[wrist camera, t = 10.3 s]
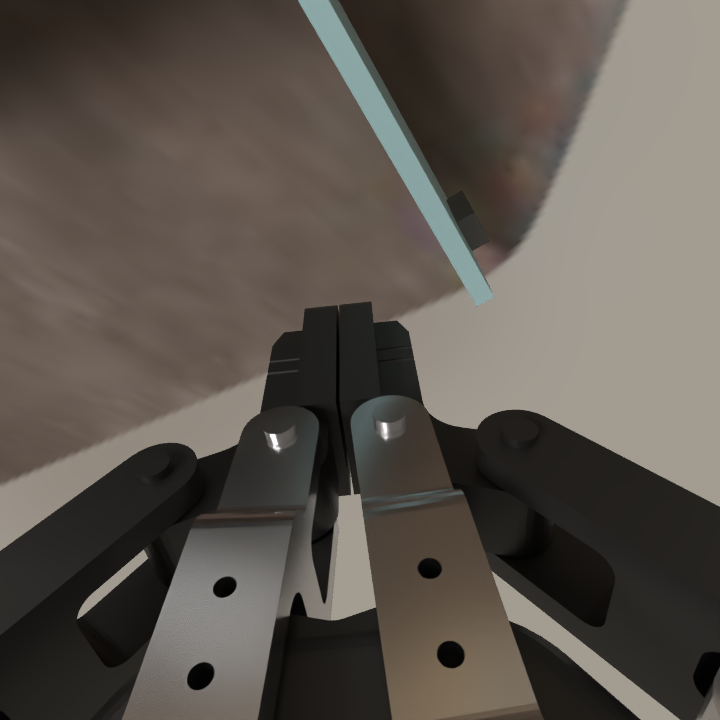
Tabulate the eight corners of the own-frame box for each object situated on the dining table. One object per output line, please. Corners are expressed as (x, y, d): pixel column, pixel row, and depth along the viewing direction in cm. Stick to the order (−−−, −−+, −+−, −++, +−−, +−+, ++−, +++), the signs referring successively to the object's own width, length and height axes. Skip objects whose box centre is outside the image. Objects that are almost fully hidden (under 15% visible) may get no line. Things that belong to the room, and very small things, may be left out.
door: (466, 200, 20) (516, 290, 14) (434, 219, 20) (469, 314, 15) (177, -345, 13) (36, -615, 7) (135, -300, 13) (-31, -521, 7)
